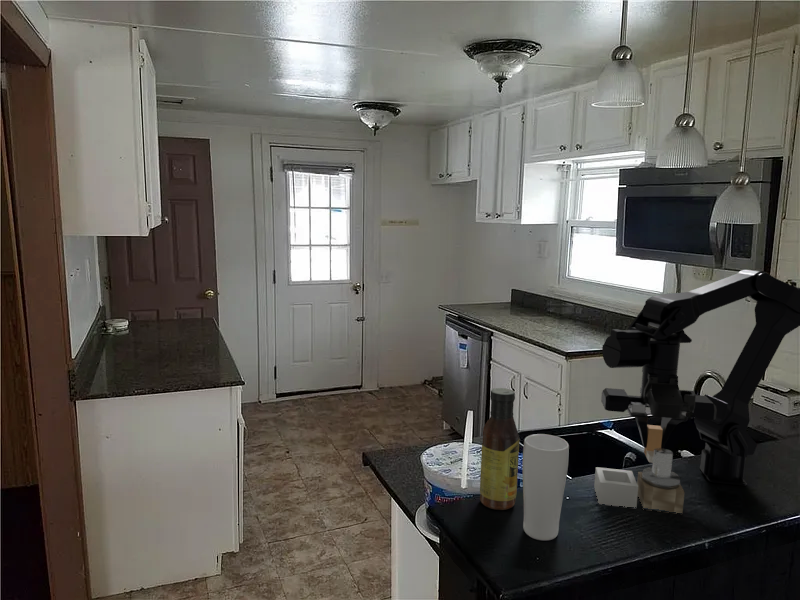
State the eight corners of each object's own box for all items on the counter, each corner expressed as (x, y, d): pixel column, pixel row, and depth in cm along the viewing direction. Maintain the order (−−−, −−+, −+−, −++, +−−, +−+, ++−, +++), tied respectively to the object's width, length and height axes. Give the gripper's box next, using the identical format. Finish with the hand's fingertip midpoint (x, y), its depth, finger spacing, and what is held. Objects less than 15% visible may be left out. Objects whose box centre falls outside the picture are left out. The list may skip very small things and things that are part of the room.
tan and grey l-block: (657, 453, 108) (660, 425, 108) (663, 463, 104) (666, 435, 103) (644, 452, 109) (646, 424, 108) (649, 462, 104) (651, 433, 104)
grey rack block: (629, 491, 105) (631, 470, 104) (636, 508, 99) (638, 486, 98) (594, 487, 106) (595, 467, 106) (598, 504, 100) (600, 482, 100)
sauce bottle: (515, 514, 96) (522, 399, 93) (477, 509, 97) (483, 395, 94) (516, 495, 102) (522, 387, 99) (480, 491, 104) (485, 384, 101)
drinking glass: (513, 521, 94) (518, 433, 92) (554, 521, 94) (560, 433, 92) (525, 545, 87) (531, 451, 85) (569, 544, 88) (576, 450, 85)
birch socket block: (673, 496, 104) (675, 475, 103) (682, 514, 98) (684, 491, 97) (636, 492, 105) (638, 471, 104) (643, 509, 99) (645, 487, 98)
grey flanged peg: (672, 494, 103) (677, 446, 102) (681, 511, 98) (687, 460, 96) (637, 490, 105) (641, 443, 103) (643, 506, 99) (648, 456, 97)
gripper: (613, 373, 99) (606, 460, 101) (732, 382, 96) (722, 471, 98) (604, 358, 110) (597, 436, 112) (710, 365, 106) (701, 446, 109)
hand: (652, 447), depth 108 cm, fingers closed on tan and grey l-block, 2 cm apart
